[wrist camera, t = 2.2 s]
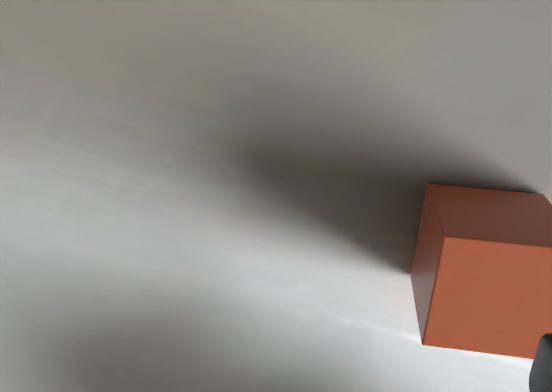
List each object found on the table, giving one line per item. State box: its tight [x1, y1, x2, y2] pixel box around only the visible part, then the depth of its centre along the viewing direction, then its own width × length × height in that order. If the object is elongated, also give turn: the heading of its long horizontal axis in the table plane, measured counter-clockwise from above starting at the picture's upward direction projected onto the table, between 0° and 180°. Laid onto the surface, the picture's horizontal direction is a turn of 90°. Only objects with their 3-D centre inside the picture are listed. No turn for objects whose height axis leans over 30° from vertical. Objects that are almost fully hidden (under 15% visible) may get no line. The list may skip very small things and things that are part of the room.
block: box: [411, 184, 552, 359], centre depth 17 cm, size 4×4×4 cm
